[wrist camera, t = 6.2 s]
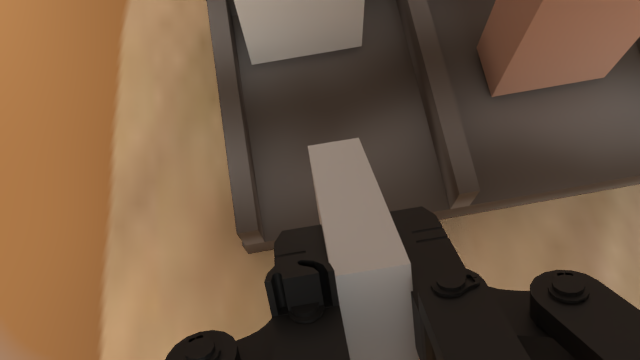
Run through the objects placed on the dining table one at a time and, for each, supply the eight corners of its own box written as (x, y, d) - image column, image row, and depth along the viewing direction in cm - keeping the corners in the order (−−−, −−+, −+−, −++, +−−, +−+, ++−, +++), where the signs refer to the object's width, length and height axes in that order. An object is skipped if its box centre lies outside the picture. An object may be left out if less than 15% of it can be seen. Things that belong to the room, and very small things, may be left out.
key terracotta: (604, 77, 25) (702, -36, 18) (491, 97, 25) (548, -10, 18) (585, 29, 26) (672, -97, 19) (476, 47, 26) (525, -72, 19)
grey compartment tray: (873, 142, 26) (952, 106, 22) (248, 253, 25) (234, 234, 22) (759, -72, 30) (811, -128, 26) (216, 20, 29) (200, -27, 26)
